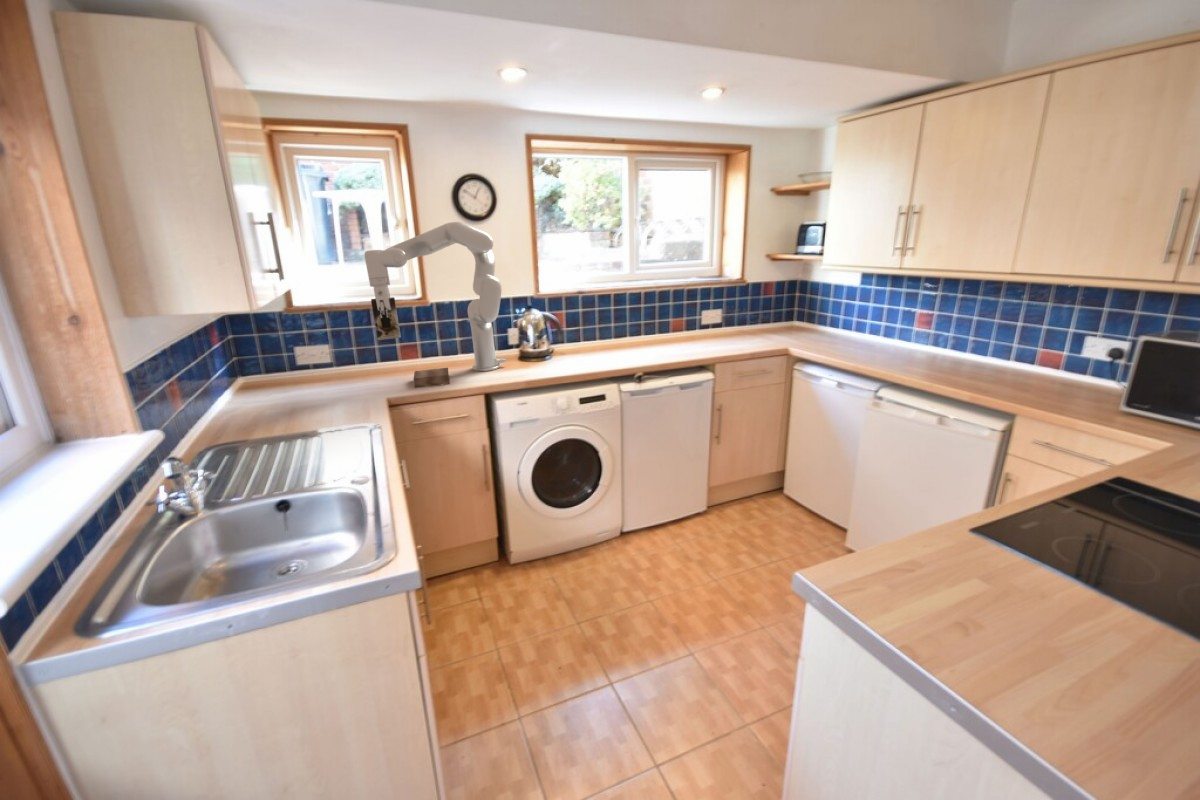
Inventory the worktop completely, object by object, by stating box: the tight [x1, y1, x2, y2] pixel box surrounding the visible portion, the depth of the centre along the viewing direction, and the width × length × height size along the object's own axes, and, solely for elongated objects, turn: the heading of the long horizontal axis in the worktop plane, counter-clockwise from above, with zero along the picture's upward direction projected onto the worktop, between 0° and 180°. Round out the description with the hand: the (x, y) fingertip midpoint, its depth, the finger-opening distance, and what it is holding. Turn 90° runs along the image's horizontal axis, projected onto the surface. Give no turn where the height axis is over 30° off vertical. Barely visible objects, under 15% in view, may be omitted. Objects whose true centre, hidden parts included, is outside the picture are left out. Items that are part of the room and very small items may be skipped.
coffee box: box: [370, 296, 402, 341], centre depth 216 cm, size 9×6×16 cm
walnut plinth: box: [413, 367, 451, 389], centre depth 226 cm, size 14×13×4 cm
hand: (387, 325), depth 217 cm, fingers closed on coffee box, 6 cm apart
